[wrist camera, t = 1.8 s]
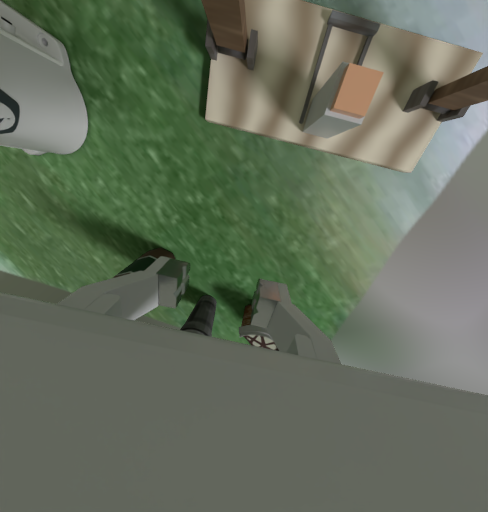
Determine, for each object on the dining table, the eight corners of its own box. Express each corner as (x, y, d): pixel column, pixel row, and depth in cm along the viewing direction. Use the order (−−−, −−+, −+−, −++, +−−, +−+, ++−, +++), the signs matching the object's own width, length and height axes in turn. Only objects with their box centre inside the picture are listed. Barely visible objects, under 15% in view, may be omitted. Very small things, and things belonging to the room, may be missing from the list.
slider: (327, 138, 27) (366, 122, 17) (302, 132, 27) (327, 111, 17) (339, 106, 25) (390, 67, 16) (312, 98, 25) (347, 55, 15)
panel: (207, 121, 29) (199, 114, 25) (221, -12, 22) (213, -52, 18) (403, 172, 30) (426, 173, 26) (469, 59, 24) (513, 37, 20)
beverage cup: (199, 313, 48) (164, 399, 30) (190, 292, 45) (146, 374, 27) (224, 311, 47) (204, 398, 29) (217, 289, 44) (189, 372, 26)
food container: (286, 323, 48) (293, 359, 39) (267, 331, 49) (269, 367, 41) (262, 292, 43) (263, 324, 35) (241, 302, 45) (238, 335, 36)
